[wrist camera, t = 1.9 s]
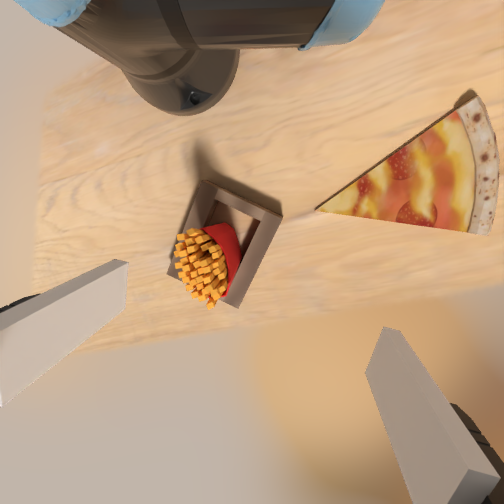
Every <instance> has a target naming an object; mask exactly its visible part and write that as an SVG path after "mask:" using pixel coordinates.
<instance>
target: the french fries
mask: <svg viewBox="0 0 504 504" xmlns="http://www.w3.org/2000/svg"><path fill="white" fill-rule="evenodd" d="M186 232H187V233H186V234H177V240H185V242H182V243H179V244H176V245H175V246H176V249H177V251H175V252H174V255H175V257H178V256H180V257H184V256H186V257H185V258H182V259H180V261H179V262H177V263H175V268H176V269H179V268H182V271H180V272H178V275H179V278H182V281H183V284H184V283H188V282H189V283H188V284H187V285H186V290H187V291H189V290H193V289H194V288H195V287H196V286H197V288H196V289H195V290H194V291H193V292H192V293H191V296H192V299H193V298H196V297H198V299H199V302H200V301H203V300H206V299H207V298H209V301H208V303H207V304H206V306H207V308H208V310H209V309H211V308H213V307H214V306H215V304H216V302H217V300H218V299H219V298H221V297H225V296H227V293H228V291H229V288H230V286H231V283H232V281H233V278H234V276H235V273H236V271H237V268H238V266H239V263H240V261H241V258H242V253H241V249H240V246H239V242H238V239H237V236H236V233H235V231H234V228H232V227H231V226H229V225H228V224H227V223H221V224H216V225H212V226H208V227H204V228H200V229H195V228H191V229H189V230H187V231H186Z"/></svg>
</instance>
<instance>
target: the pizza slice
mask: <svg viewBox="0 0 504 504" xmlns="http://www.w3.org/2000/svg"><path fill="white" fill-rule="evenodd" d="M499 160H500V159H499V154H498V148H497V142H496V136H495V133H494V131H493V129H492V126H491V123H490V119H489V116H488V113H487V110H486V107H485V105H484V103H483V102H482V100H481V99H480V97H479V96H478V95H477V96H475V97H473V98H472V99H470V100H469V101H467V102H466V103H465V104H463V105H462V106H460V107H459V108H458V109H456V110H455V111H453V112H452V113H451V114H449V115H448V116H446V117H445V118H444V119H442V120H441V121H439V122H438V123H437V124H435V125H434V126H432V127H431V128H430V129H428V130H427V131H425V132H424V133H423V134H421V135H420V136H418V137H417V138H416V139H414V140H413V141H411V142H410V143H408V144H407V145H406V146H404V147H403V148H401V149H400V150H399V151H397V152H396V153H394V154H393V155H392V156H390V157H389V158H387V159H386V160H385V161H383V162H382V163H380V164H379V165H378V166H376V167H375V168H373V169H372V170H371V171H369V172H368V173H366V174H365V175H364V176H362V177H361V178H359V179H358V180H357V181H355V182H354V183H352V184H351V185H350V186H348V187H347V188H345V189H344V190H343V191H341V192H340V193H338V194H337V195H336V196H334V197H333V198H331V199H330V200H329V201H327V202H326V203H324V204H323V205H322V206H320V207H319V208H317V209H316V210H315V211H321V212H328V213H335V214H342V215H349V216H356V217H363V218H370V219H377V220H384V221H391V222H398V223H405V224H412V225H419V226H426V227H433V228H440V229H448V230H455V231H462V232H467V233H472V234H478V235H484V236H488V235H489V233H490V231H491V227H492V224H493V220H494V216H495V211H496V205H497V198H498V187H499Z"/></svg>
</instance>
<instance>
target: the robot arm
mask: <svg viewBox="0 0 504 504" xmlns="http://www.w3.org/2000/svg"><path fill="white" fill-rule="evenodd" d="M14 1H15V2H17V3H18V4H19V5H20V6H22V7H23V8H25V9H26V10H27V11H28V12H29V13H30V14H31V15H32V16H33V17H34V18H36V19H38V20H39V21H41V22H42V23H44V24H47V25H49V26H53V27H54V28H56V29H57V30H59V31H61V32H62V33H64V34H66V35H67V36H69V37H70V38H72V39H74V40H75V41H77V42H78V43H80V44H82V45H83V46H85V47H86V48H88V49H90V50H91V51H93V52H95V53H96V54H98V55H99V56H101V57H103V58H104V59H106V60H107V61H109V62H111V63H112V64H114V65H115V66H117V67H119V68H120V69H121V70H122V72H123V73H124V75H125V76H126V78H127V79H128V81H129V82H130V84H131V85H132V87H133V88H134V89H135V91H136V92H137V93H138V94H139V95H140V96H141V97H142V98H143V99H144V100H146V101H147V102H148V103H150V104H151V105H153V106H154V107H156V108H158V109H160V110H162V111H164V112H167V113H169V114H173V115H178V116H190V115H195V114H199V113H201V112H204V111H206V110H208V109H209V108H211V107H212V106H214V105H215V104H216V103H217V102H218V101H219V100H220V99H221V98H222V97H223V96H224V95H225V93H226V92H227V91H228V89H229V87H230V86H231V84H232V82H233V79H234V77H235V74H236V71H237V67H238V62H239V53H240V49H263V48H298V50H301V51H304V50H308V49H309V48H311V47H315V46H327V45H340V44H345V43H348V42H351V41H353V40H354V39H356V38H357V37H358V36H359V35H360V34H361V33H363V31H364V30H365V29H367V28H368V26H369V25H370V24H371V23H372V21H373V20H374V19H375V17H376V15H377V14H378V12H379V11H380V9H381V7H382V5H383V4H384V2H385V0H14ZM128 263H129V262H125V261H121V260H117V259H114V260H112V261H110V262H107V263H105V264H103V265H101V266H99V267H97V268H95V269H93V270H91V271H88V272H86V273H84V274H82V275H80V276H78V277H76V278H74V279H72V280H69V281H67V282H65V283H63V284H61V285H59V286H57V287H55V288H53V289H50V290H48V291H46V292H44V293H42V294H36V295H32V296H28V297H24V298H22V299H20V300H17V301H15V302H13V303H11V304H10V305H9V306H8V305H6V306H4V307H2V308H0V407H3V406H4V405H6V404H7V403H8V402H9V401H11V400H12V399H13V398H14V397H16V396H17V395H18V394H20V393H21V392H22V391H23V390H25V389H26V388H27V387H28V386H30V385H31V384H32V383H33V382H34V381H36V380H37V379H38V378H40V377H41V376H42V375H43V374H45V373H46V372H47V371H48V370H49V369H51V368H52V367H53V366H54V365H56V364H57V363H58V362H59V361H61V360H62V359H63V358H64V357H66V356H67V355H68V354H69V353H71V352H72V351H73V350H74V349H76V348H77V347H78V346H79V345H81V344H82V343H83V342H84V341H86V340H87V339H88V338H89V337H91V336H92V335H93V334H94V333H96V332H97V331H98V330H99V329H101V328H102V327H103V326H104V325H106V324H107V323H108V322H109V321H111V320H112V319H113V318H114V317H116V316H117V315H118V314H119V313H121V312H122V311H123V310H124V309H125V305H126V291H127V277H128ZM365 374H366V377H367V380H368V382H369V385H370V387H371V390H372V393H373V396H374V399H375V401H376V404H377V407H378V410H379V412H380V415H381V418H382V420H383V423H384V426H385V429H386V431H387V434H388V436H389V440H390V442H391V445H392V448H393V451H394V453H395V456H396V459H397V461H398V464H399V467H400V470H401V472H402V475H403V478H404V481H405V483H406V486H407V489H408V491H409V494H410V497H411V500H412V502H413V504H504V463H503V462H502V460H501V459H500V457H499V456H498V455H497V453H496V452H495V450H494V449H493V448H491V447H490V444H489V442H488V441H487V440H486V438H485V437H484V436H483V435H481V431H480V430H479V429H478V427H477V426H476V425H475V423H474V422H473V420H472V419H471V418H470V417H469V416H468V415H467V414H466V413H465V412H464V411H463V410H461V409H460V408H459V407H458V406H457V405H456V404H452V403H449V402H448V401H447V399H446V397H445V396H444V395H443V393H442V392H441V390H440V389H439V387H438V386H437V384H436V383H435V382H434V380H433V379H432V377H431V376H430V374H429V373H428V371H427V370H426V368H425V367H424V366H423V364H422V363H421V361H420V360H419V358H418V357H417V355H416V354H415V352H414V351H413V350H412V348H411V347H410V345H409V344H408V342H407V341H406V339H405V338H404V336H403V335H402V333H401V332H400V331H398V330H395V329H391V328H387V327H383V329H382V332H381V334H380V337H379V339H378V342H377V344H376V347H375V349H374V352H373V354H372V357H371V359H370V362H369V364H368V367H367V369H366V372H365Z"/></svg>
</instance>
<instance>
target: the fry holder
mask: <svg viewBox="0 0 504 504" xmlns="http://www.w3.org/2000/svg"><path fill="white" fill-rule="evenodd" d="M218 201H220V202H222V203H224V204H226V205H228V206H230V207H232V208H234V209H237V210H239V211H241V212H243V213H245V214H247V215H249V216H251V217H253V218H255V219H257V220H260V221H261V222H260V224H259V226H258V228H257V230H256V232H255V234H254V237H253V239H252V241H251V243H250V245H249V247H248V249H247V252H246V254H245V256H244V258H243V260H242V262H241V264H240V267H239V269H238V271H237V273H236V275H235V277H234V279H233V282H232V284H231V286H230V288H229V291H228V293H227V296H225V297H221V298H219V300H221V301H223V302H225V303H227V304H229V305H232V306H234V307H236V308H239V306H240V304H241V302H242V300H243V298H244V296H245V294H246V292H247V290H248V288H249V286H250V284H251V282H252V280H253V278H254V275H255V273H256V271H257V269H258V267H259V265H260V263H261V261H262V259H263V257H264V255H265V253H266V251H267V249H268V247H269V245H270V243H271V241H272V239H273V237H274V235H275V233H276V231H277V229H278V227H279V225H280V223H281V221H282V218H283V216H281V215H279V214H277V213H275V212H272V211H270V210H268V209H266V208H264V207H262V206H260V205H258V204H256V203H254V202H251V201H249V200H247V199H245V198H243V197H241V196H239V195H237V194H235V193H233V192H231V191H228V190H226V189H224V188H222V187H220V186H218V185H216V184H214V183H212V182H210V181H208V180H205V181H201V184H200V187H199V189H198V192H197V195H196V197H195V200H194V203H193V205H192V208H191V211H190V213H189V216H188V219H187V221H186V224H185V226H184V229H183V232H182V234H186V233H187V232H186V231H187V230H189V229H191V228H195V229H200V228H204V227H207V226H208V224H209V221H210V219H211V216H212V214H213V211H214V209H215V206H216V204H217V202H218ZM182 242H185V240H179V242H178V244H179V243H182ZM175 251H177V249H176V250H175ZM185 257H186V256H184V257H180V256H178V257H175V255H174V256H173V258H172V261H171V264H170V266H169V269H168V272H167V274H168V275H170V276H172V277H174V278H176V279H178V280H180V281H182V278H179V275H178V272H180V271H182V268H179V269H176V268H175V263H177V262H179V261H180V259H182V258H185ZM182 282H183V281H182ZM188 283H189V282H188ZM188 283H186V284H188ZM195 288H197V286H196V287H195Z"/></svg>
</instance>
